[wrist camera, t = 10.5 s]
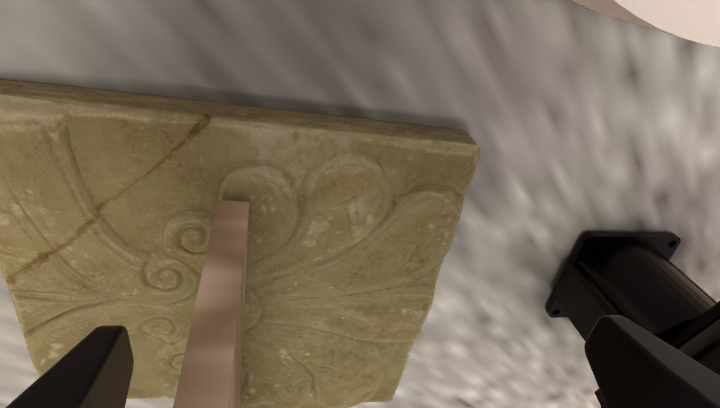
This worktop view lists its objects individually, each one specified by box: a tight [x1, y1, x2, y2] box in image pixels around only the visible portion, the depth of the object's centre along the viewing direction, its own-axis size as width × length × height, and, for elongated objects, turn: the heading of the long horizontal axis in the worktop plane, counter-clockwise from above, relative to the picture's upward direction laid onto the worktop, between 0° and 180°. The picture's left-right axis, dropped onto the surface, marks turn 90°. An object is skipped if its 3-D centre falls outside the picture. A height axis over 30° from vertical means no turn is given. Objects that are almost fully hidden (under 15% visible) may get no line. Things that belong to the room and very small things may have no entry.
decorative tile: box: [0, 79, 479, 408], centre depth 22 cm, size 19×20×4 cm
